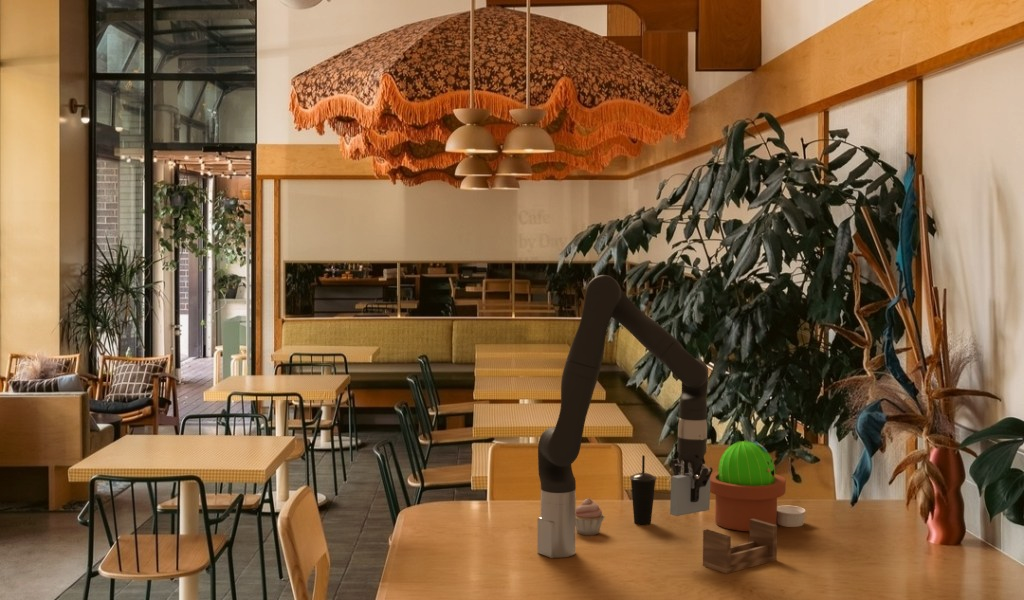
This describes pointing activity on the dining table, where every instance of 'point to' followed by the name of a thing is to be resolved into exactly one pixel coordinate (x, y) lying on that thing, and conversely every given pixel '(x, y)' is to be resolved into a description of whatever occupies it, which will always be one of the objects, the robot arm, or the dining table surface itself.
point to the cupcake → (588, 518)
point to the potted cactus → (746, 487)
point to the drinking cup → (642, 496)
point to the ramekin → (790, 516)
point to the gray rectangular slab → (687, 496)
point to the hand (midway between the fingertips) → (690, 500)
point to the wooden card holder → (740, 548)
